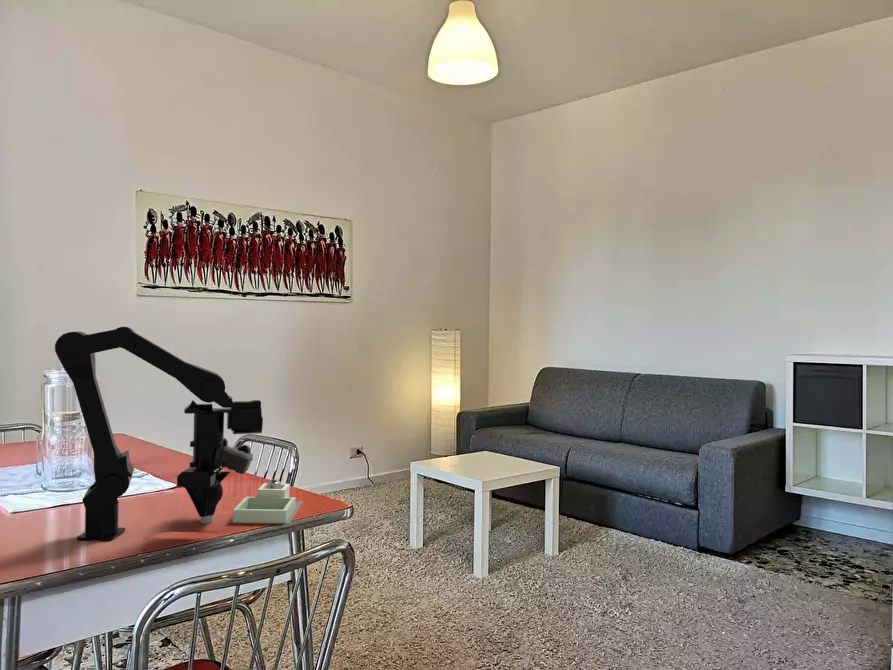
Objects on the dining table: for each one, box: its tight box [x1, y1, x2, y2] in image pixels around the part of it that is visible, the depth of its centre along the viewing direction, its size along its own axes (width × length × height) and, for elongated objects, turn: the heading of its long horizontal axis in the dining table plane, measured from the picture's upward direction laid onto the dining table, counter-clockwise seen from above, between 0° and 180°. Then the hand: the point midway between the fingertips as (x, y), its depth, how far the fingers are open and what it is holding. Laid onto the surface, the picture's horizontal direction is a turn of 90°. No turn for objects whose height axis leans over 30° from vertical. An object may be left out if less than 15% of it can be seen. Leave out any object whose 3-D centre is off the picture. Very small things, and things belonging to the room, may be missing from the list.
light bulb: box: [200, 479, 224, 525], centre depth 138 cm, size 6×6×10 cm
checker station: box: [228, 482, 304, 525], centre depth 147 cm, size 17×12×5 cm
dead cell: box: [267, 478, 282, 489], centre depth 152 cm, size 3×3×6 cm
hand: (207, 512), depth 138 cm, fingers closed on light bulb, 5 cm apart
